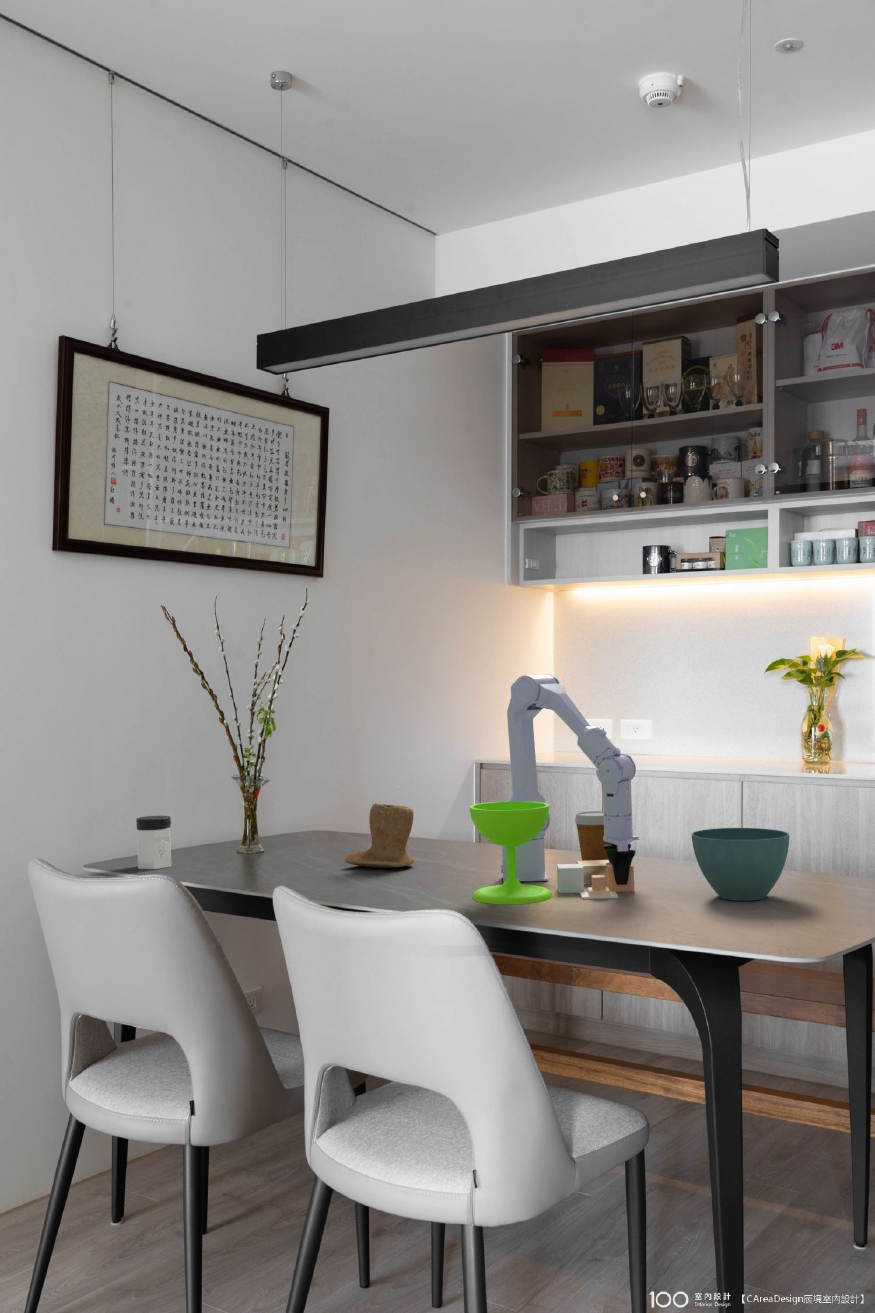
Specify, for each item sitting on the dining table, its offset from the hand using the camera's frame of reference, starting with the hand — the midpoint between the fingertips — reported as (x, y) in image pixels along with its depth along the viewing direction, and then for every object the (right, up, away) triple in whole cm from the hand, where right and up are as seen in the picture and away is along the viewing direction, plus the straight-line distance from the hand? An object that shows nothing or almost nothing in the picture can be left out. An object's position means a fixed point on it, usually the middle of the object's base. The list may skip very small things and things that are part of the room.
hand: (620, 882), depth 232 cm
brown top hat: (-49, -4, +37) cm, 62 cm away
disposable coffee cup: (-1, -2, +28) cm, 28 cm away
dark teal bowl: (+22, -1, -12) cm, 25 cm away
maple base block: (-4, -2, +10) cm, 11 cm away
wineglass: (-22, -2, -4) cm, 23 cm away
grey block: (-10, -2, 0) cm, 10 cm away
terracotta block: (0, -2, 0) cm, 2 cm away
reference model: (-5, -1, -7) cm, 9 cm away
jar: (-106, -6, +47) cm, 116 cm away
